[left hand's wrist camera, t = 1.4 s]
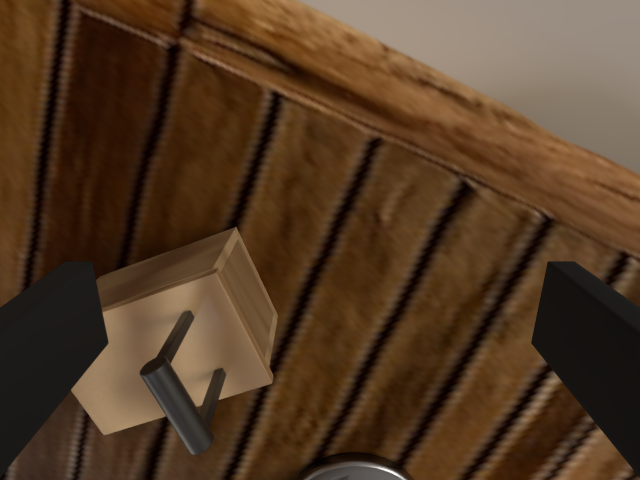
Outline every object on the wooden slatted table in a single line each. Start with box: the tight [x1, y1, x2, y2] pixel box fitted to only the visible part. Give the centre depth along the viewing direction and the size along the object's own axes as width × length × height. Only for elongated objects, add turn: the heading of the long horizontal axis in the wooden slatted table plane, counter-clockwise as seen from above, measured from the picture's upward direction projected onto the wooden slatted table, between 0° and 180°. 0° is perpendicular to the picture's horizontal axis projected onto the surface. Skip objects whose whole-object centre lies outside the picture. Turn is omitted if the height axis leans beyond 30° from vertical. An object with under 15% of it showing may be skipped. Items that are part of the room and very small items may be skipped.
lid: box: [71, 268, 273, 455], centre depth 28 cm, size 14×10×8 cm
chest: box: [96, 227, 278, 366], centre depth 36 cm, size 14×10×9 cm
